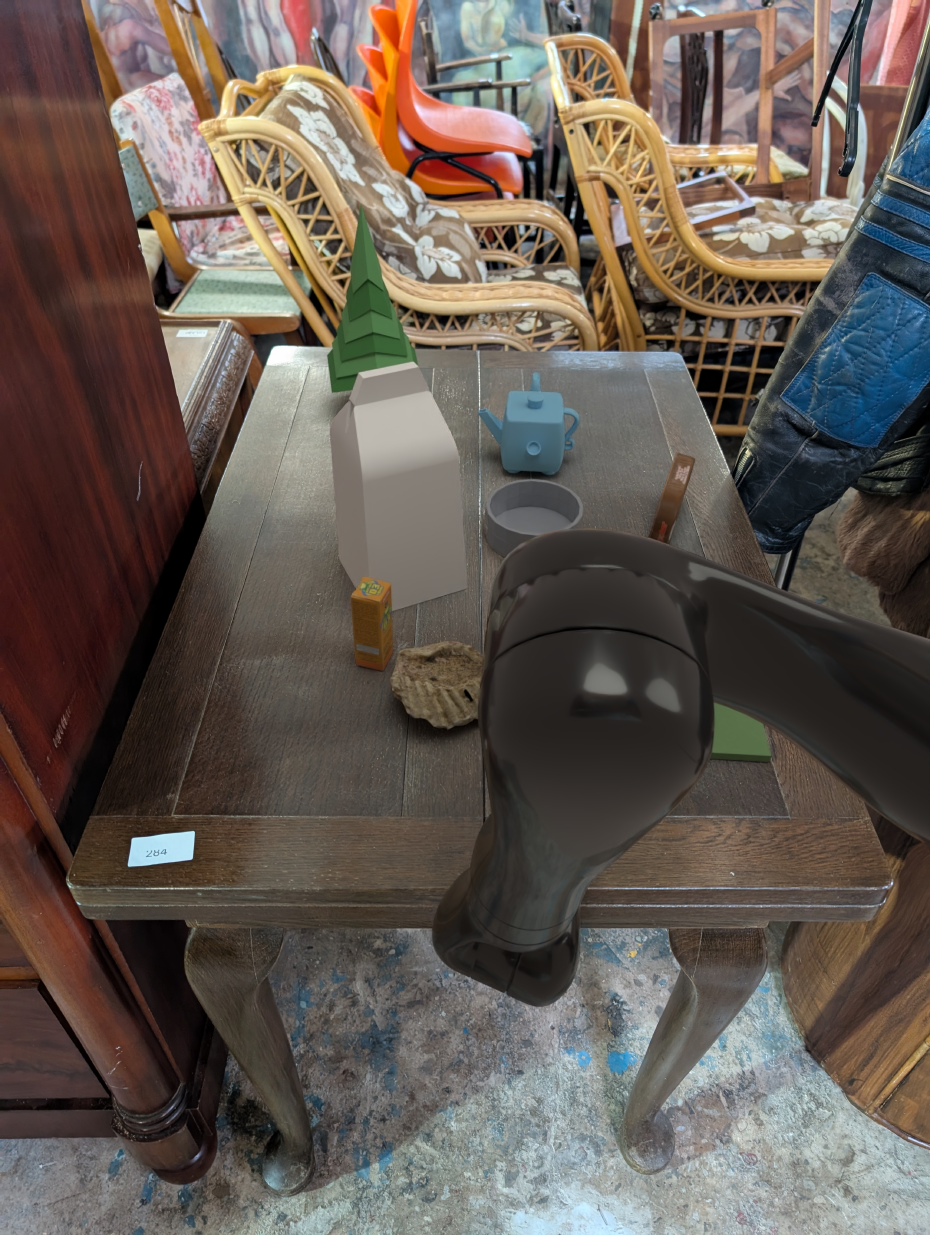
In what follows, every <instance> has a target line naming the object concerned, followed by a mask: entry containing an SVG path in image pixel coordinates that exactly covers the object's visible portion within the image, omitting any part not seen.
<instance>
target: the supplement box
mask: <svg viewBox="0 0 930 1235" xmlns="http://www.w3.org/2000/svg"><path fill="white" fill-rule="evenodd" d="M350 610H351V622H352V623H351V624H352V634H353V646H354V647H353V648H354V658H355V664H356V665H357V666H359V667H363V668H367V669H372V670H376V671H380V672H384V671H385V669H386V667H387V665H388V663H389V661H390V659H391V657H392V655H393V653H394V637H393V636H394V635H393V634H394V633H393V631H394V630H393V611H392V598H391V584H390V583H388V582H384V581H381V580H376V579H372V578H368V577H362V579H361V583H360V584H359V586H358V587H357V589H356V588H355V590H354V591H353V592H352V594H350Z"/></svg>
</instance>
